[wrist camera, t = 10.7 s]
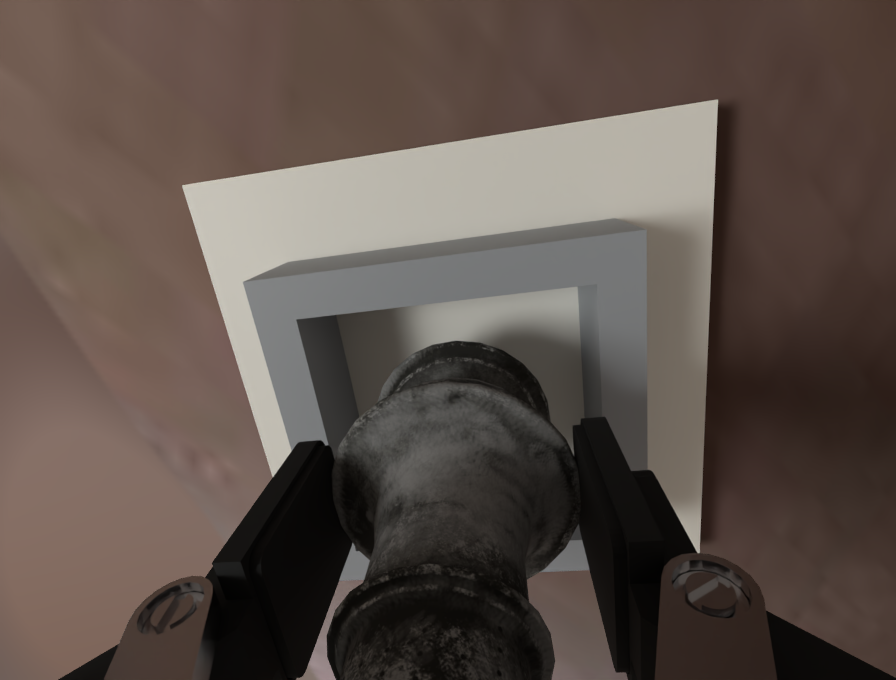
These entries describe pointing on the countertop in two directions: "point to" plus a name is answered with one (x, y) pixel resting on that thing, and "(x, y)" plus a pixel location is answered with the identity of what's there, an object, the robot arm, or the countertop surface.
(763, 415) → the countertop surface
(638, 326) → the socket
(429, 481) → the stone chess piece
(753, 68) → the countertop surface
